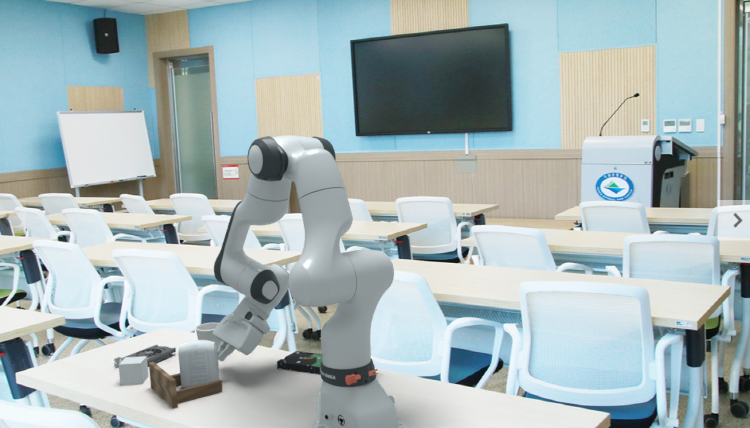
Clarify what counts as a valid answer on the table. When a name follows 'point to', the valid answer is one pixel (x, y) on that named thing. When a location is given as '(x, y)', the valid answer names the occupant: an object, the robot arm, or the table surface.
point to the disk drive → (301, 362)
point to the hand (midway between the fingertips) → (218, 358)
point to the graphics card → (150, 354)
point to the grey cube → (133, 370)
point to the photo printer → (198, 363)
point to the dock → (168, 383)
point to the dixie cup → (207, 333)
